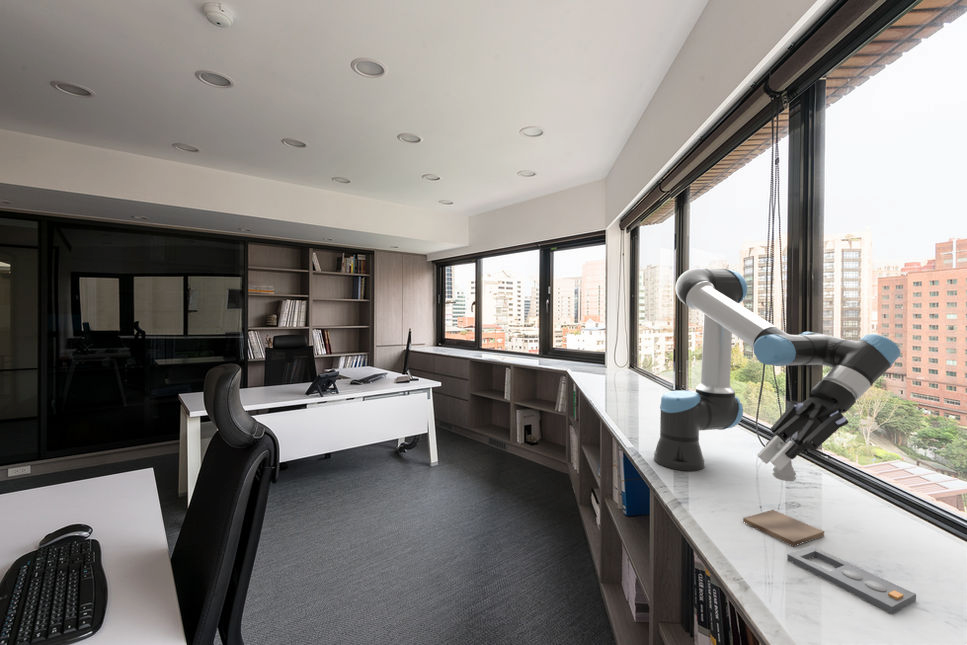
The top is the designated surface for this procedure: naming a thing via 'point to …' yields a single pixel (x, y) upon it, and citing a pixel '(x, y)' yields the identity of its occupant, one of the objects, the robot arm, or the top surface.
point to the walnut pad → (783, 527)
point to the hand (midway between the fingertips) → (768, 462)
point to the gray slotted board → (855, 580)
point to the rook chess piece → (784, 468)
